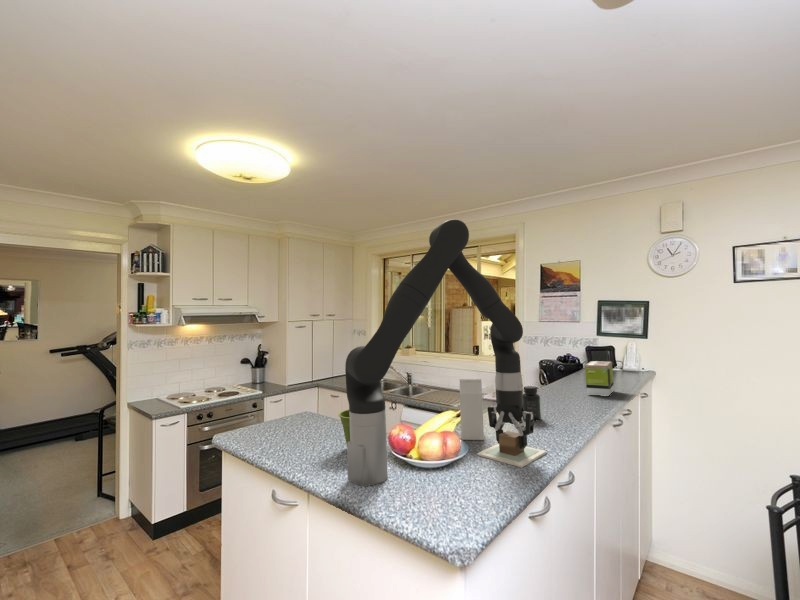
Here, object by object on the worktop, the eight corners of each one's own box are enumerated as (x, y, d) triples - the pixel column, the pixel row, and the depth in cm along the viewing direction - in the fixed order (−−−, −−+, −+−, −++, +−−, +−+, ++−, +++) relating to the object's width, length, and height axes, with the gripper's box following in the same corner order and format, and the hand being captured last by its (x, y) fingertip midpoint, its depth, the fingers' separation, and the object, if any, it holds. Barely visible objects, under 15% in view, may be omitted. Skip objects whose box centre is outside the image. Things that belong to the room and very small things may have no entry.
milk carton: (483, 440, 127) (481, 381, 128) (461, 440, 128) (459, 381, 129) (483, 434, 134) (481, 377, 135) (462, 433, 135) (460, 377, 136)
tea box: (592, 390, 200) (590, 360, 201) (614, 391, 194) (612, 361, 195) (586, 395, 188) (584, 364, 189) (609, 397, 182) (608, 365, 183)
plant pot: (343, 443, 129) (342, 408, 130) (379, 442, 129) (378, 407, 130) (336, 456, 118) (335, 417, 118) (376, 455, 117) (374, 416, 118)
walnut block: (515, 456, 110) (514, 437, 111) (499, 452, 114) (498, 434, 114) (524, 451, 114) (523, 433, 114) (508, 447, 117) (507, 430, 118)
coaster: (521, 467, 104) (521, 464, 104) (477, 455, 114) (477, 452, 114) (546, 453, 114) (546, 450, 114) (503, 443, 124) (503, 440, 124)
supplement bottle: (545, 419, 149) (543, 387, 150) (533, 422, 146) (532, 389, 146) (530, 415, 155) (528, 384, 155) (518, 418, 151) (517, 387, 152)
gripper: (480, 386, 117) (482, 443, 117) (525, 392, 107) (528, 455, 106) (494, 383, 122) (497, 437, 122) (538, 388, 112) (541, 447, 111)
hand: (511, 445), depth 114 cm, fingers open, 6 cm apart
